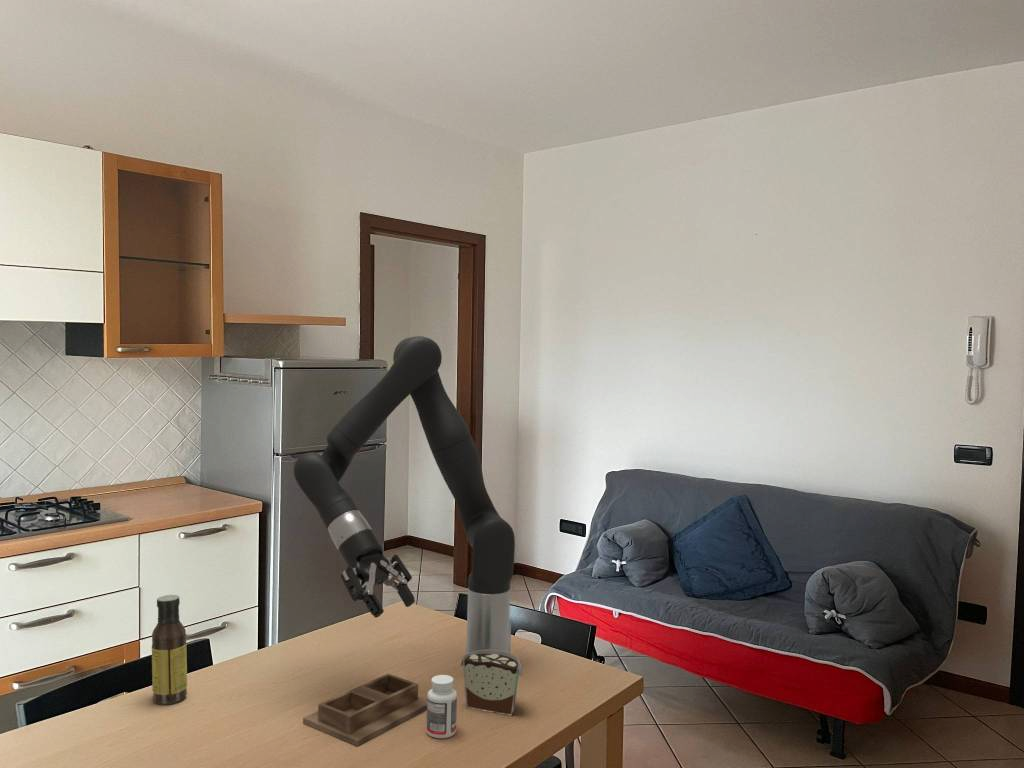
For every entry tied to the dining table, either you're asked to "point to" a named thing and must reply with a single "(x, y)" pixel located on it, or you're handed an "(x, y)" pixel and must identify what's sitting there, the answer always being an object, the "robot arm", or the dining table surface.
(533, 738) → the dining table surface
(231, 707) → the dining table surface
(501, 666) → the food container
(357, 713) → the walnut organizer
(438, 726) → the pill bottle
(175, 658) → the sauce bottle
